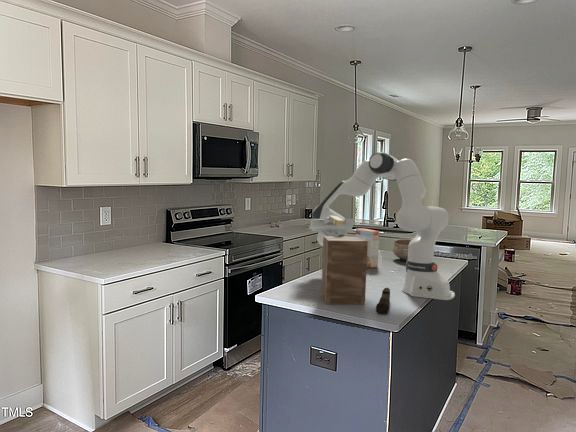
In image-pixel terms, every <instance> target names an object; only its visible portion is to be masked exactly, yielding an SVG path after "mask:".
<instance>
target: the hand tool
mask: <svg viewBox="0 0 576 432" xmlns="http://www.w3.org/2000/svg"><path fill="white" fill-rule="evenodd" d="M390 299H391V289H390V288H389V287H385V288H383V289H382V292H381V296H380V298H379V301H378V303H377V304H376V307H375V312H376V313H377V315H388V313H389V310H390Z"/></svg>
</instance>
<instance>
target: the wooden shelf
mask: <svg viewBox="0 0 576 432" xmlns="http://www.w3.org/2000/svg"><path fill="white" fill-rule="evenodd" d="M367 247H368V241H367V240H365V239H364V238H362V237H356V236H352V235H351V236H350V235H349V236H348V235H346V236H323V246H322V267H321V268H322V269H321V270H322V271H321V272H322V274H321V298H322V300H323V302H324V303H325V305H365V304H366V290H367V288H366V286H367V268H368V267H367Z"/></svg>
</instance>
